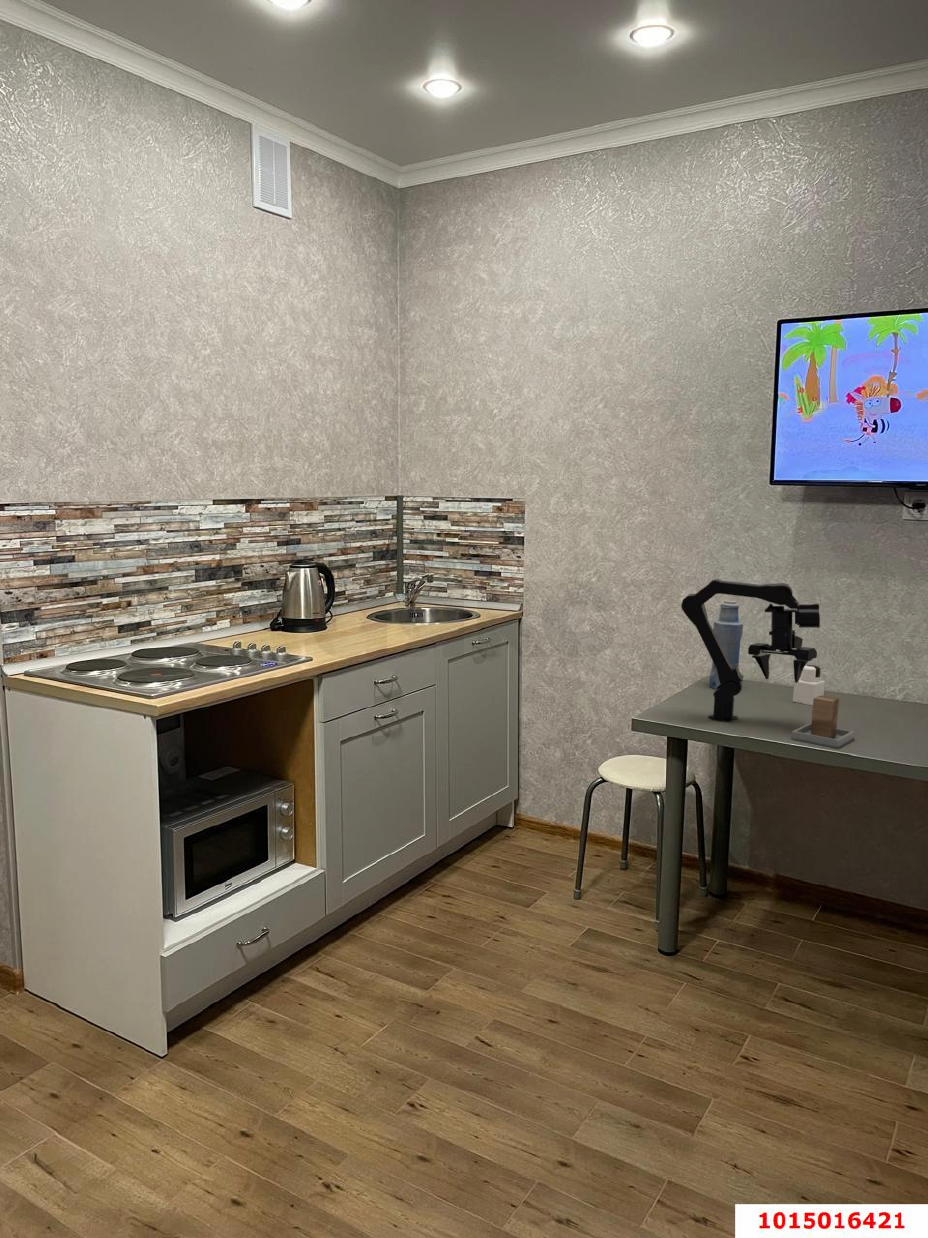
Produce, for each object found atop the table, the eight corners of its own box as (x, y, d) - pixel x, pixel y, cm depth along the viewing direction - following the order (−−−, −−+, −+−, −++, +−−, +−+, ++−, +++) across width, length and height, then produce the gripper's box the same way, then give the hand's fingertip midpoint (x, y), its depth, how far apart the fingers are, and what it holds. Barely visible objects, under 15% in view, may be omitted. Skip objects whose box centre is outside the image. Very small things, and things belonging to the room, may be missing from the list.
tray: (837, 748, 247) (838, 740, 246) (791, 739, 255) (791, 731, 254) (854, 739, 256) (854, 731, 256) (808, 730, 264) (809, 723, 264)
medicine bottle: (802, 698, 304) (805, 662, 302) (823, 702, 299) (826, 666, 297) (792, 701, 299) (794, 665, 297) (813, 706, 294) (816, 669, 292)
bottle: (707, 683, 323) (712, 598, 318) (736, 685, 322) (741, 599, 318) (711, 690, 314) (717, 602, 309) (741, 691, 313) (747, 603, 308)
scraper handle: (828, 740, 252) (831, 701, 250) (810, 737, 255) (813, 698, 254) (835, 737, 255) (839, 698, 254) (817, 733, 259) (820, 695, 257)
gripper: (826, 626, 265) (825, 680, 267) (766, 621, 279) (766, 673, 281) (807, 631, 257) (807, 686, 259) (746, 626, 271) (747, 678, 273)
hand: (781, 680), depth 268 cm, fingers open, 9 cm apart
